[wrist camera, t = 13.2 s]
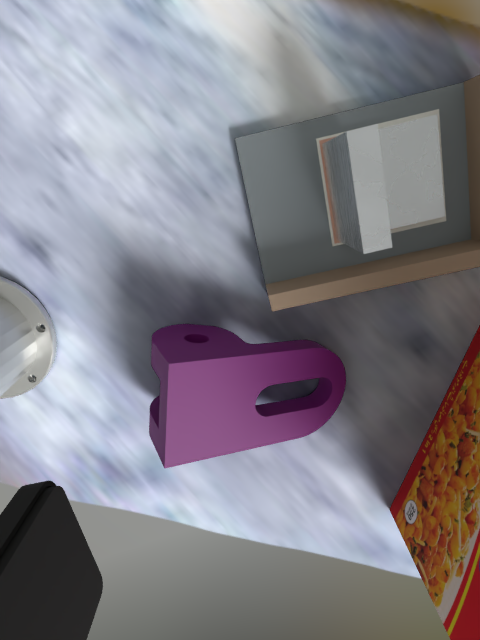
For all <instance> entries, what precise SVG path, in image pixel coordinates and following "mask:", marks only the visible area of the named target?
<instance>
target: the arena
mask: <svg viewBox="0 0 480 640" xmlns="http://www.w3.org/2000/svg"><path fill="white" fill-rule="evenodd" d="M436 114H437V117H438V130H439V143H440V156H441V169H442V182H443V195H444V208H445V217H440V218H436V219H432V220H428V221H423V222H419V223H415V224H411V225H407V226H402V227H398V228H394V229H390V231H391V240H392V248H388V249H384V250H379V251H375V252H371V253H366V254H363V253H361V252H359V251H357V250H355V249H353V248H351V247H349V246H348V245H346V244H344V243H342V242H340V241H338V240H337V237H336V231H335V224H334V218H333V212H332V206H331V199H330V193H329V187H328V181H327V174H326V168H325V162H324V156H323V150H322V144H323V143H325V142H327V141H329V140H331V139H333V138H335V137H337V136H339V135H341V134H343V133H345V132H347V131H351V130H355V129H359V128H363V127H366V126H370V125H374V124H378V129H381V128H385V127H389V126H393V125H397V124H401V123H405V122H409V121H413V120H416V119H420V118H424V117H428V116H432V115H436ZM235 142H236V147H237V152H238V156H239V161H240V166H241V171H242V175H243V180H244V185H245V190H246V194H247V199H248V204H249V209H250V213H251V218H252V223H253V228H254V232H255V237H256V242H257V247H258V251H259V256H260V261H261V266H262V270H263V275H264V280H265V285H266V289H267V294H268V298H269V302H270V306H271V309H272V311H277V310H281V309H286V308H291V307H295V306H300V305H305V304H309V303H314V302H319V301H323V300H328V299H332V298H337V297H342V296H346V295H351V294H356V293H360V292H365V291H370V290H374V289H379V288H383V287H388V286H393V285H397V284H402V283H407V282H411V281H416V280H421V279H425V278H430V277H434V276H439V275H444V274H448V273H453V272H458V271H462V270H467V269H472V268H476V267H480V75H478V76H476V77H474V78H472V79H470V80H467V81H465V82H462V83H458V84H454V85H450V86H446V87H442V88H438V89H434V90H430V91H426V92H422V93H418V94H414V95H409V96H405V97H401V98H397V99H393V100H389V101H385V102H381V103H377V104H373V105H369V106H365V107H360V108H356V109H352V110H348V111H344V112H340V113H336V114H332V115H328V116H324V117H320V118H316V119H312V120H307V121H303V122H299V123H295V124H291V125H287V126H283V127H279V128H275V129H271V130H267V131H263V132H258V133H254V134H250V135H246V136H242V137H238V138H235Z"/></svg>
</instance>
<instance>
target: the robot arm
mask: <svg viewBox="0 0 480 640" xmlns="http://www.w3.org/2000/svg"><path fill="white" fill-rule="evenodd" d="M43 325H44V326H45V327H44V326H43ZM56 352H57V339H56V332H55V329H54V326H53V323H52V320H51V318H50V317H49V315H48V313H47V311H46V309H45V308H44V307H43V306H42V304H41V303H40V302H39V301H38V299H37V298H35V297H34V296H33V295H32V294H31V293H30V292H29V291H28V290H26V289H25V288H23V287H22V286H20V285H19V284H17V283H15V282H13V281H11V280H8V279H6V278H4V277H1V276H0V399H3V398H12V397H15V396H19V395H22V394H24V393H26V392H28V391H30V390H32V389H33V388H34V387H35V386H37V385H38V384H39V383H40V382H41V381H42V380H43V379H44V378H45V377H46V376H47V375H48V373H49V371H50V370H51V368H52V366H53V364H54V361H55V357H56ZM102 588H103V582H102V576H101V574H100V571H99V569H98V566H97V564H96V562H95V560H94V557H93V555H92V553H91V551H90V549H89V546H88V544H87V541H86V539H85V537H84V535H83V533H82V530H81V528H80V526H79V523H78V521H77V519H76V517H75V514H74V512H73V510H72V507H71V505H70V503H69V501H68V498H67V496H66V494H65V491H64V490H63V488H62V487H60V486H56V485H55V483H53V482H52V481H45V482H39V483H34V484H29V485H25V486H22V487H21V488H20V489H19V490H18V491H17V493H16V494H15V495H14V497H13V498H12V500H11V501H10V502H9V504H8V505H7V507H6V508H5V509H4V511H3V512H2V513H1V515H0V640H86V639H87V637H88V634H89V631H90V628H91V625H92V622H93V619H94V615H95V612H96V609H97V606H98V603H99V601H100V598H101V594H102Z"/></svg>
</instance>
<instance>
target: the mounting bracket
mask: <svg viewBox="0 0 480 640" xmlns="http://www.w3.org/2000/svg"><path fill="white" fill-rule="evenodd" d="M151 366H152V368H153V369H154V371H155V373H156V374H157V376H158V378H159V379H160V395H159V396H158V397H156V398H155V399H154V400H153V401H152V403H151V405H150V423H149V434H150V437H151V439H152V442H153V444H154V446H155V448H156V451H157V453H158V455H159V457H160V459H161V462H162V464H163V466H164V468H168V467H173V466H177V465H182V464H186V463H190V462H195V461H199V460H204V459H208V458H213V457H217V456H221V455H226V454H230V453H235V452H239V451H244V450H248V449H253V448H257V447H261V446H266V445H270V444H275V443H279V442H284V441H288V440H292V439H297V438H301V437H304V436H307V435H309V434H311V433H313V432H314V431H316V430H317V429H319V428H320V427H321V426H323V425H324V424H325V423H326V422H327V421H328V420H329V419H330V418H331V416H332V415H333V414H334V412H335V411H336V409H337V408H338V406H339V404H340V402H341V400H342V397H343V394H344V391H345V385H346V373H345V368H344V366H343V363H342V361H341V360H340V358H339V357H338V356H337V355H336V354H335V353H333V352H332V351H330V350H328V349H327V348H325V347H323V346H322V345H320V344H318V343H317V342H314V341H310V340H294V341H284V342H274V343H263V344H248V343H246V342H244V341H243V340H242V339H240V338H239V337H238V336H237V335H235V334H234V333H232V332H230V331H228V330H226V329H223V328H219V327H215V326H206V325H194V324H178V325H171V326H167V327H164V328H161V329H159V330H157V331H156V332H154V333H153V335H152V348H151ZM315 378H319V384H318V386H317V388H316V389H315V391H314V392H313V393H312V394H310V395H309V396H306V397H302V398H296V399H290V400H284V401H279V402H273V403H267V404H261V405H255V403H256V399H257V397H258V395H259V394H260V392H261V391H262V390H263V389H265V388H266V387H268V386H270V385H275V384H281V383H288V382H295V381H301V380H308V379H315Z"/></svg>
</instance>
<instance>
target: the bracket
mask: <svg viewBox="0 0 480 640" xmlns="http://www.w3.org/2000/svg"><path fill="white" fill-rule="evenodd" d="M322 150H323V156H324V162H325V168H326V174H327V181H328V187H329V193H330V199H331V206H332V212H333V218H334V224H335V231H336V237H337V240H338V241H340V242H342V243H344V244H346V245H348V246H349V247H351V248H353V249H355V250H357V251H359V252H361V253H363V254H366V253H371V252H375V251H379V250H384V249H388V248H392V240H391V231H390V229H394V228H398V227H402V226H407V225H411V224H415V223H419V222H423V221H428V220H432V219H436V218H440V217H445V208H444V195H443V182H442V169H441V156H440V143H439V130H438V117H437V114H436V115H432V116H428V117H424V118H420V119H416V120H413V121H409V122H405V123H401V124H397V125H393V126H389V127H385V128H381V129H378V124H374V125H370V126H366V127H363V128H359V129H355V130H351V131H347V132H345V133H343V134H341V135H339V136H337V137H335V138H333V139H331V140H329V141H327V142H325V143H323V144H322Z"/></svg>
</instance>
